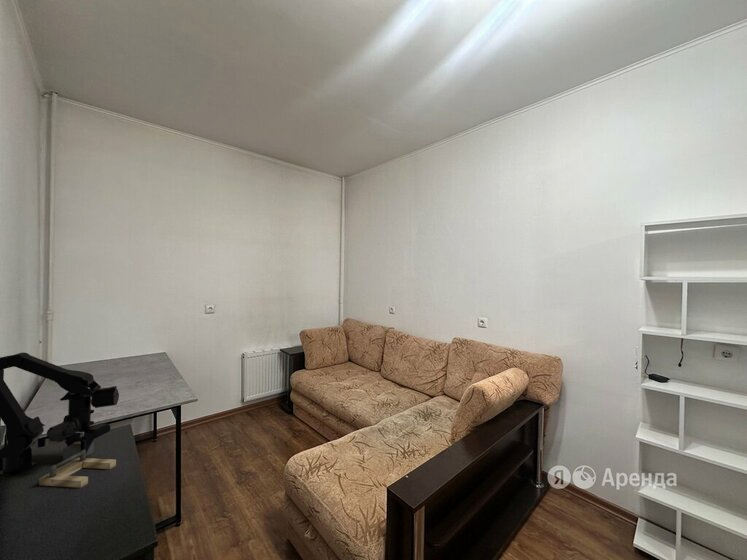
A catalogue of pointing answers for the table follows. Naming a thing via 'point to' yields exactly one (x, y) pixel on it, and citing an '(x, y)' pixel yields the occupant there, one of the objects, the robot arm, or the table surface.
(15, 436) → the robot arm
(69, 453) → the banded grey block
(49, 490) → the table surface
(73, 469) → the wooden u-shaped holder
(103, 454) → the table surface
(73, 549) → the table surface
